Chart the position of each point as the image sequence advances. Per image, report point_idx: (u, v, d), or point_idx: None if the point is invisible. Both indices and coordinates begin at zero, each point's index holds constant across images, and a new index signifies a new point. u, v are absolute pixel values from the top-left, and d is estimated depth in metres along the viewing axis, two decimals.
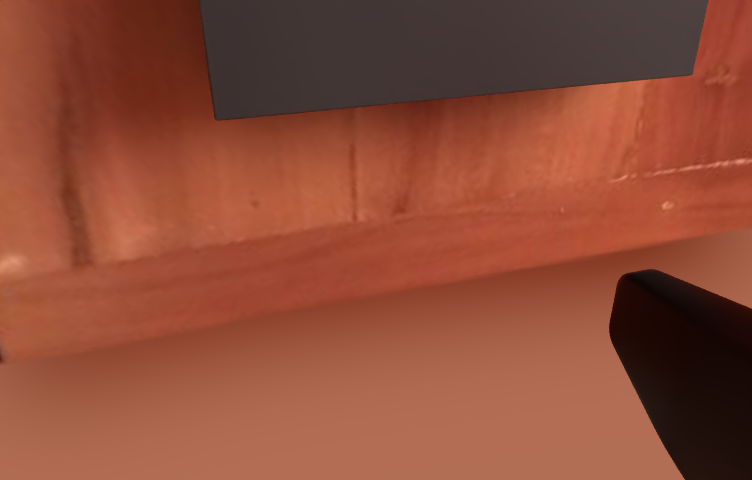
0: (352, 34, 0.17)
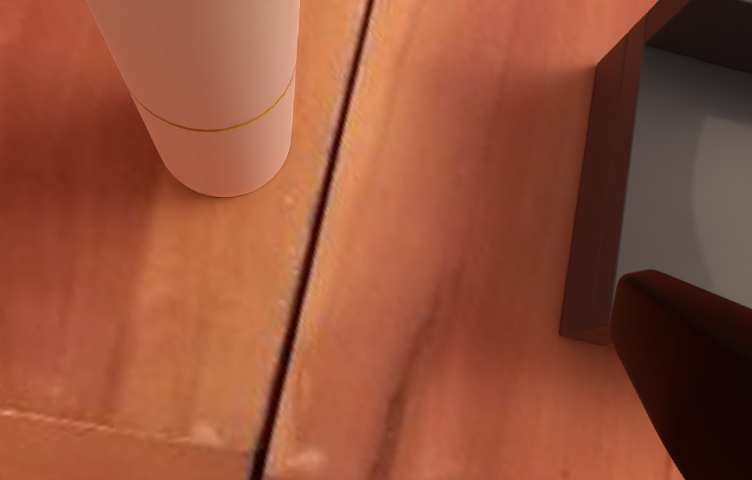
0: (737, 286, 0.20)
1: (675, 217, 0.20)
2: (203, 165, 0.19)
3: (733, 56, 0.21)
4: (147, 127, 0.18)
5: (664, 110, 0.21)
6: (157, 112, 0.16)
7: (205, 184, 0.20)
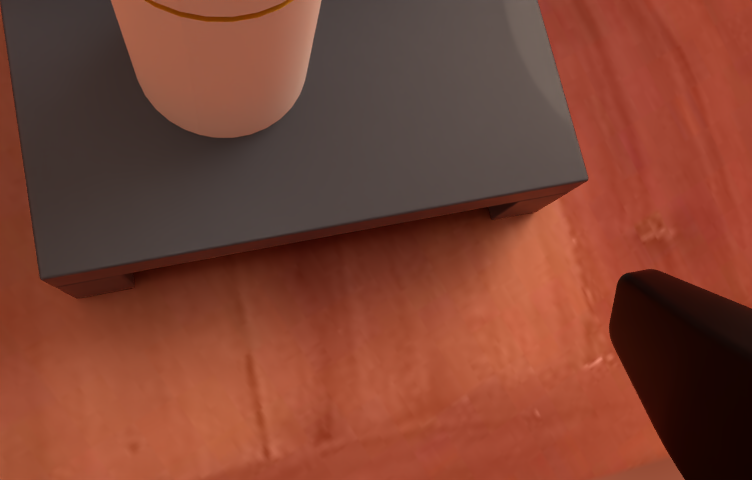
0: (191, 171, 0.17)
1: (90, 122, 0.16)
2: (194, 82, 0.14)
3: None
4: (121, 23, 0.13)
5: (40, 2, 0.17)
6: None
7: (194, 115, 0.16)
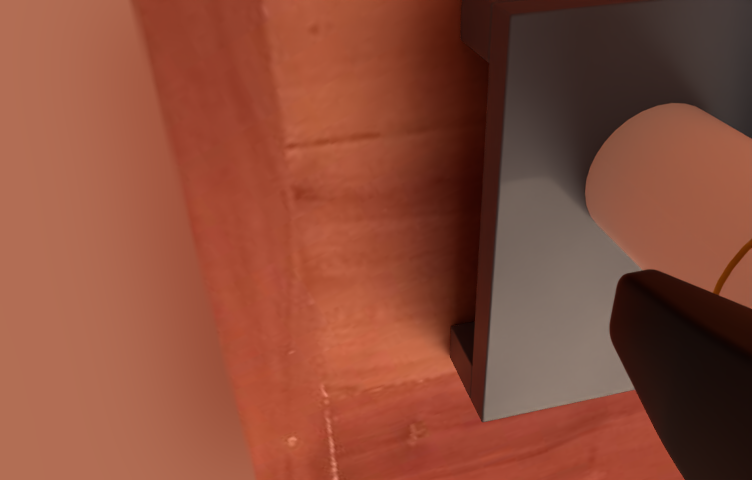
0: (568, 146, 0.19)
1: (634, 64, 0.18)
2: (657, 209, 0.17)
3: None
4: (725, 166, 0.16)
5: (750, 25, 0.18)
6: None
7: (620, 171, 0.18)
